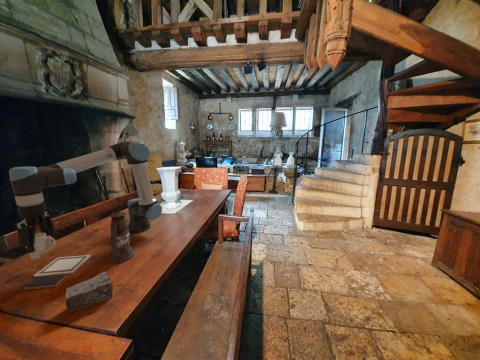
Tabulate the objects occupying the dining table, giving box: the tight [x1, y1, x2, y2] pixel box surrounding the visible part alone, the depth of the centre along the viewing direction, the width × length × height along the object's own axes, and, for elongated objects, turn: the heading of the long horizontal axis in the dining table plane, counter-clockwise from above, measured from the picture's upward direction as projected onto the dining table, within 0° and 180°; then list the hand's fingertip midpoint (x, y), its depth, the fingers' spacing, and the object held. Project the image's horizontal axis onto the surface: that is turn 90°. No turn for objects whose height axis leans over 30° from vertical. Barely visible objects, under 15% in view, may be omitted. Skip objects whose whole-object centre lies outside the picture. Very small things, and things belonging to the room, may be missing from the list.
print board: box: [33, 254, 92, 278], centre depth 93 cm, size 16×14×1 cm
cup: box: [25, 232, 57, 255], centre depth 79 cm, size 7×10×8 cm
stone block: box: [64, 271, 114, 314], centre depth 73 cm, size 14×9×8 cm, turn 132°
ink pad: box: [23, 274, 67, 291], centre depth 81 cm, size 12×6×2 cm, turn 100°
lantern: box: [109, 195, 135, 263], centre depth 98 cm, size 11×16×35 cm
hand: (42, 253), depth 80 cm, fingers closed on cup, 6 cm apart
